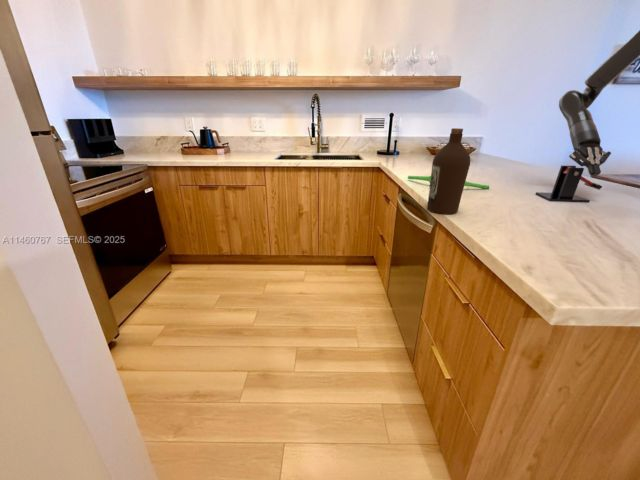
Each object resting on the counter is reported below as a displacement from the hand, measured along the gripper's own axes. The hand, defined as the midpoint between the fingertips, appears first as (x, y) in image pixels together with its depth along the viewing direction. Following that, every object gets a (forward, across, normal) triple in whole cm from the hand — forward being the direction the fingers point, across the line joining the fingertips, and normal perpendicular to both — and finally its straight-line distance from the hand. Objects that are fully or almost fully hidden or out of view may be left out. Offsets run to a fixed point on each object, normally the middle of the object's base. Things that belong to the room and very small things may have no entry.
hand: (595, 175), depth 102 cm
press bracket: (+7, -9, +6) cm, 13 cm away
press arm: (+2, -6, +1) cm, 6 cm away
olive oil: (+20, -56, -7) cm, 60 cm away
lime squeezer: (-3, -47, +15) cm, 50 cm away
